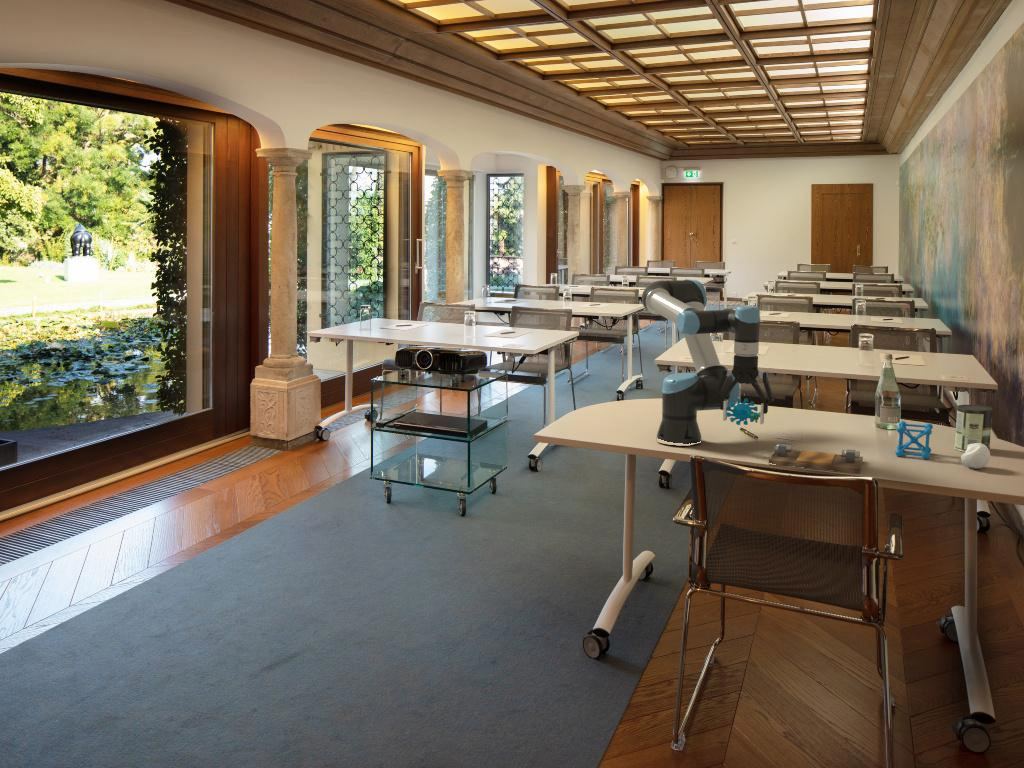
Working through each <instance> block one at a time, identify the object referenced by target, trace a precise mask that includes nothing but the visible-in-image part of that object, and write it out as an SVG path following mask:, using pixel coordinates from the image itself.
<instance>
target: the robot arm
mask: <svg viewBox="0 0 1024 768" xmlns="http://www.w3.org/2000/svg"><path fill="white" fill-rule="evenodd" d="M641 295H642V296H641V303H642V306H643V307H644V308H645V310H646V311H648V312H649V313H651V314H653V315H660V316H662V317H664V318H665V319H666V320H669V322H672V323H674V324H675V325H676V328H677V330H678V332H679V333H680V334H681V335H683V336H684V339H685V342H686V345H687V348H688V352H689V354H690V356H691V360H692V362H693V365H694V369H695V371H696V373H695V372H679V373H673V374H670V375H668V376H665V377H664V379H663V382H662V389H661V392H662V393H661V394H662V397H661V398H662V404H661V405H662V408H661V409H662V410H661V411H662V412H661V415H662V416H661V417H662V418H661V422H660V425H659V428H658V431H657V434H656V439H657V438H658V439H661V440H664V441H667V442H673V443H683V444H689V443H690V444H691V443H697V442H700V441H701V442H702V433H701V430H700V427H699V423H698V419H697V417H698V415H697V414H698V411H713V410H715V411H717V410H720V411H722V413H723V414H722V421H723V422H725V421H727V419H728V417H727V412H728V411H727V407H728V406H730V408H731V409H733V406H731V405H730V402H732V401H734V405H735V406H736V404H738V403H737V399H740V393H741V391H740V390H741V389H740V388H741V385H742V384H745V385H751V386H752V387H753V388H754V390H755V392H756V394H757V395H758V396H759V398H760V400H761V401H762V402H761V403H760V412H761V413H760V417H759V420H760V421H759V425H763V424H765V423H764V422H765V415H766V414H767V413H768V412H769V404H771V403H773V402H774V401H775V398H774V393H773V391H772V387H771V384H770V382H769V378H768V376H769V372H768V371H759V368H758V367H759V366H758V365H759V356H758V355H759V351H760V350H759V347H760V346H759V345H760V344H759V343H760V342H759V339H760V327H761V326H760V325H761V324H760V323H761V309H760V307H758V306H755V305H738V306H737V307H736V309H733V308H722V309H718V310H716V309H714V310H713V309H712V310H710V309H709V310H705V308H706V306H707V301H708V298H707V296H708V295H707V291H706V288H705V286H704V284H702V282H700V281H699V280H697V279H688V278H687V279H681V280H679V279H678V280H673V279H672V280H671V279H670V280H657V281H653V282H652V283H650V284H648V285H647V286H646V287H645V288H644V290H643V292H642V294H641ZM727 333H728V334H729V333H730V334H734V341H733V342H734V343H733V345H734V347H733V353H734V356H733V366H732V367H733V368H732V369H728V368H727V367H726V366H725V365H723V364H721V362H720V360H719V357H718V354H717V351H716V348H715V346H714V342H713V340H712V337H711V335H710V334H727ZM758 376H759V377H760V379H762V384H763V387H764V389H765V392H766V393H765V392H764V391H763V389H762V388H761V386H760V384H759V382H758V380H757V378H758ZM740 384H741V385H740ZM766 395H767V396H766Z"/></svg>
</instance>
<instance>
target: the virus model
mask: <svg viewBox="0 0 1024 768" xmlns="http://www.w3.org/2000/svg"><path fill="white" fill-rule="evenodd" d="M743 399H744V400H743V402H742V399H741V398H738V399H737V403H736V404H737V405H736V404H735V405H734V401H732V402H730V405H731V406H733V407H732V408H730V406H728V407H727V418H729V421H730V422H731V423H734V422H735V424H736V425H737V426H740V425H741V422H743V425H744V426H747V425H749V423H748V419H749V422H750V423H753V422H755V423H758V420H760V413H761V411H759V412H758V409H759V408H758V406H756V405H755V402H754V401H752V400H751V401H750V402H749V399H748V398H743ZM731 412H732V413H731Z"/></svg>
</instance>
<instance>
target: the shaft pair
mask: <svg viewBox="0 0 1024 768" xmlns="http://www.w3.org/2000/svg"><path fill="white" fill-rule="evenodd" d="M773 445H774V446H773V450H774V452H775V451H778V456H780V457H786V456H787V452H791V450H792V447H793V446H792V445H790V444H788V443H774V444H773ZM841 455H842V457H846V463H853V464H854V463H855V458H858V459H860V456H861V451H859V450H855V449H847V450H846V449H842V451H841Z"/></svg>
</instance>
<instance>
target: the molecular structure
mask: <svg viewBox="0 0 1024 768" xmlns="http://www.w3.org/2000/svg"><path fill="white" fill-rule="evenodd" d="M908 427H914V428H915V427H916V428H924V429H914V428H913V429H912V428H908ZM933 428H934V425H933V424H932V423H930V422H928V423H926V424H924V425H923V424H913V423H907V422H906V421H904V420H900V421H899V422H898V426H897V427H896V431H897V432H898V445H897V446H896V451H894V452H895V453H894V454H895V456H896V457H898V456H899V458H900V457H902V456H903V455H905V456H913V457H914V456H916V457H922V459H923V460H929V459H930V457H931V452H932V448H931V447H930V446H929V445H930V435H932V434H933V433H932V432H933V431H932V430H933ZM911 432H914V433H918V434H917V435H916V436H915V435H914V436H913V434H912V433H911ZM904 435H905V436H907V438H909V441H907V442H906V443H904V444H903V441H904ZM923 436H925V445H923V444H922V443H921V442H919V439H920V438H922V437H923ZM912 444H915V446H916V447H912V446H911V445H912ZM910 446H911V447H910ZM905 450H911V451H920V452H921V453H916V452H915V453H914V452H905Z"/></svg>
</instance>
